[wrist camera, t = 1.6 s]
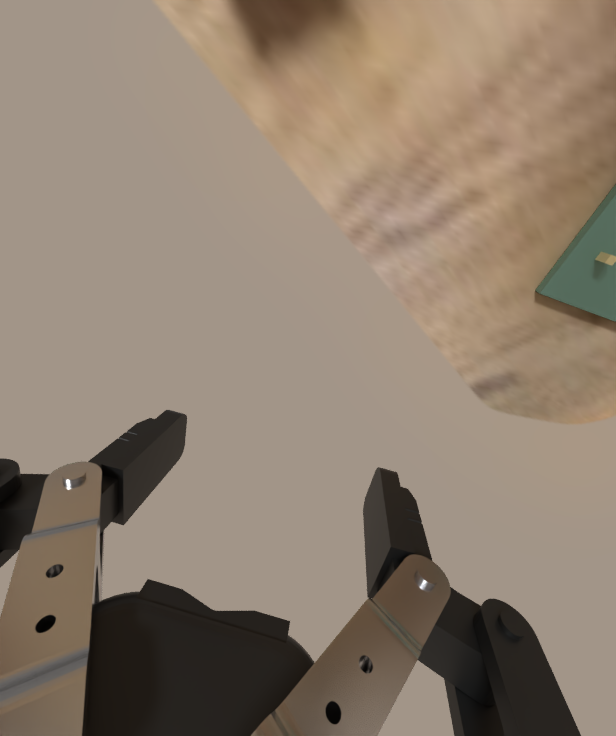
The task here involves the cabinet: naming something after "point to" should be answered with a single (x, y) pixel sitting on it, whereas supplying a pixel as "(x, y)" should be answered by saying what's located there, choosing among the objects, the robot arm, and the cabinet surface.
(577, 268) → the header board
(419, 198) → the cabinet surface
